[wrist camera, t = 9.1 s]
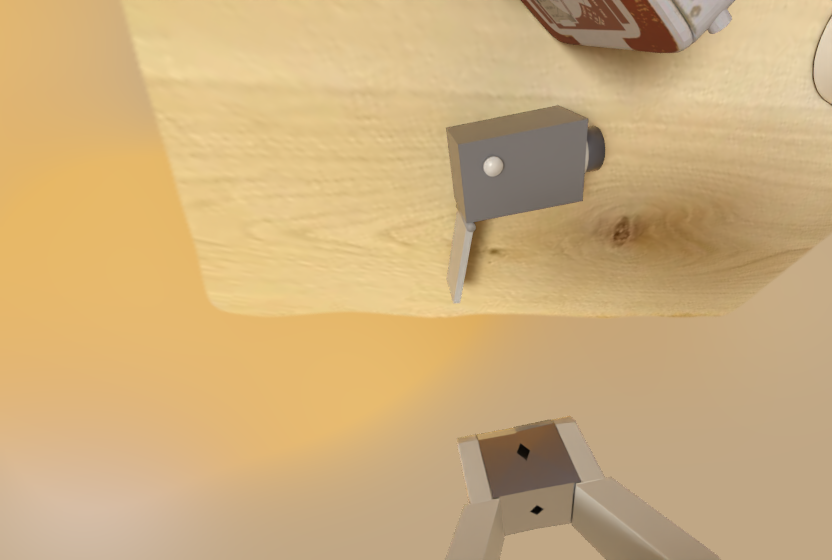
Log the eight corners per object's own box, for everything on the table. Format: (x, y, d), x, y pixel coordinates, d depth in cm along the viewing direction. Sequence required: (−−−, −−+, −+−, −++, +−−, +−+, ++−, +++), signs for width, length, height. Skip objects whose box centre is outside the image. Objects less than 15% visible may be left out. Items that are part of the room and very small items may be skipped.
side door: (452, 277, 51) (461, 305, 46) (445, 277, 51) (453, 305, 46) (465, 201, 46) (476, 223, 41) (456, 201, 46) (467, 223, 41)
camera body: (580, 101, 41) (618, 114, 35) (576, 175, 46) (608, 199, 39) (446, 127, 42) (459, 146, 35) (454, 199, 46) (467, 226, 40)
